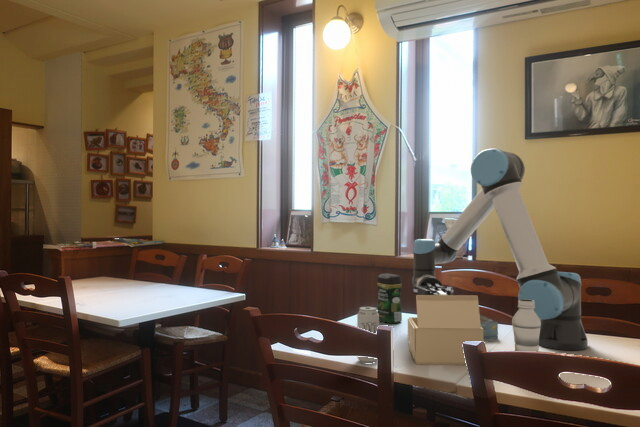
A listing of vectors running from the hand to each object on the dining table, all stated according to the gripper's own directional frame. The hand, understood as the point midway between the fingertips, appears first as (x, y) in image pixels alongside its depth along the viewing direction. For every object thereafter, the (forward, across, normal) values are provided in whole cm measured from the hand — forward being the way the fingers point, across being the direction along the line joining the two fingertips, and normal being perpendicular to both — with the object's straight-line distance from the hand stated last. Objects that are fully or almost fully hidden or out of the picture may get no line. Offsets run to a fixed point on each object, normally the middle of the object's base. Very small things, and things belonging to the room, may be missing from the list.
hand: (443, 298), depth 138 cm
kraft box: (-1, 0, -17) cm, 17 cm away
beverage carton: (-31, -17, -18) cm, 39 cm away
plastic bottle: (+19, -16, -17) cm, 30 cm away
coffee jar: (-49, +11, -17) cm, 53 cm away
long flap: (+5, 0, -3) cm, 6 cm away
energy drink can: (+4, +22, -17) cm, 28 cm away
